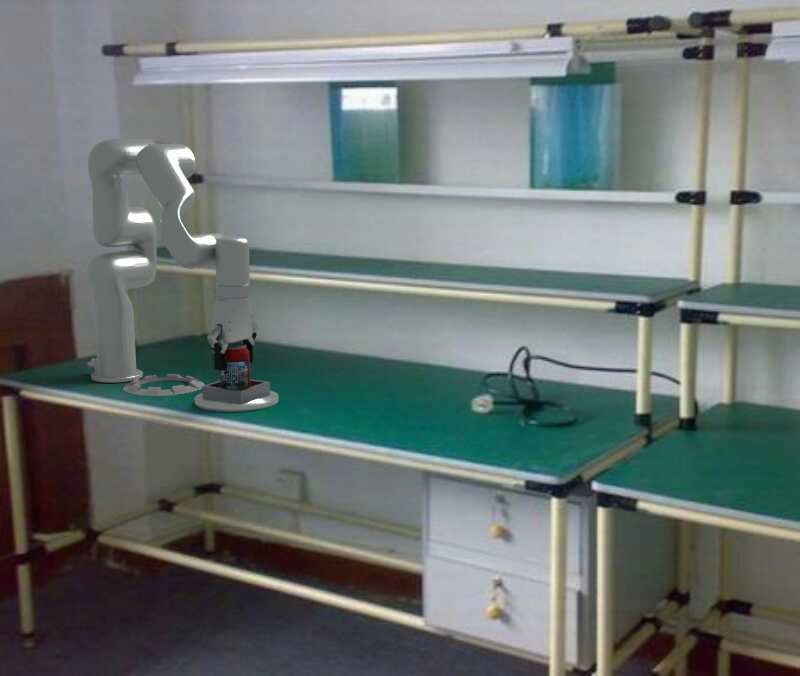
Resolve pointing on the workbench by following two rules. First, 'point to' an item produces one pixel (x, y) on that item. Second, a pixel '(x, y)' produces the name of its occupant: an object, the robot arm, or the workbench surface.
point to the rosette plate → (236, 397)
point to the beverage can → (236, 367)
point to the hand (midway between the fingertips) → (234, 365)
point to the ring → (156, 391)
